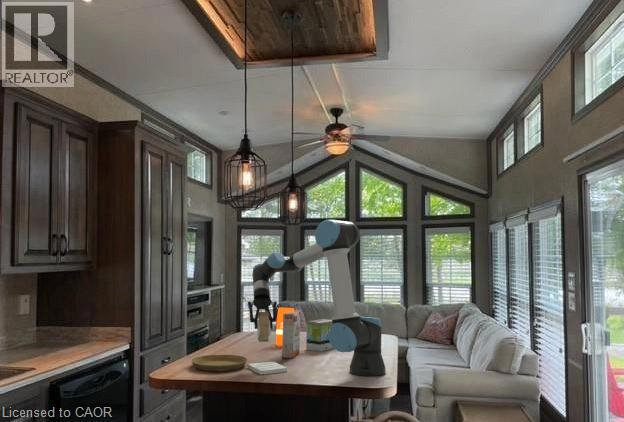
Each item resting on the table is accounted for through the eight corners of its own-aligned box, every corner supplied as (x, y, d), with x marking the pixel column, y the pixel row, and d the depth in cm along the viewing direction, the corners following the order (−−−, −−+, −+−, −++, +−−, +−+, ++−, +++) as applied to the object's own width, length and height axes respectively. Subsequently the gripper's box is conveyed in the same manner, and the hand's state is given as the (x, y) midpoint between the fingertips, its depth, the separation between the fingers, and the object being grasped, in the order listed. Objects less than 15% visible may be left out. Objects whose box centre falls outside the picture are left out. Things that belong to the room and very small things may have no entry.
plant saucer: (211, 359, 230) (212, 352, 230) (257, 364, 221) (257, 356, 221) (179, 369, 208) (179, 361, 208) (228, 376, 199) (228, 367, 199)
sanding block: (258, 339, 215) (258, 311, 217) (267, 339, 216) (267, 311, 217) (259, 341, 210) (259, 313, 211) (268, 341, 210) (269, 313, 211)
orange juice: (291, 346, 265) (292, 308, 266) (275, 345, 266) (276, 308, 268) (294, 343, 272) (295, 307, 274) (279, 343, 274) (279, 306, 276)
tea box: (321, 352, 250) (321, 322, 251) (305, 349, 256) (306, 320, 257) (337, 347, 262) (338, 319, 263) (322, 345, 268) (322, 318, 269)
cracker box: (293, 358, 232) (294, 314, 234) (281, 358, 233) (282, 313, 235) (300, 353, 246) (300, 311, 248) (288, 352, 247) (289, 310, 249)
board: (287, 371, 206) (287, 367, 206) (260, 374, 200) (261, 370, 200) (272, 365, 218) (272, 361, 218) (247, 367, 212) (247, 363, 212)
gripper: (279, 297, 231) (283, 339, 213) (242, 297, 228) (243, 340, 210) (280, 287, 226) (284, 328, 209) (243, 287, 223) (244, 329, 206)
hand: (264, 334), depth 209 cm, fingers closed on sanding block, 4 cm apart
